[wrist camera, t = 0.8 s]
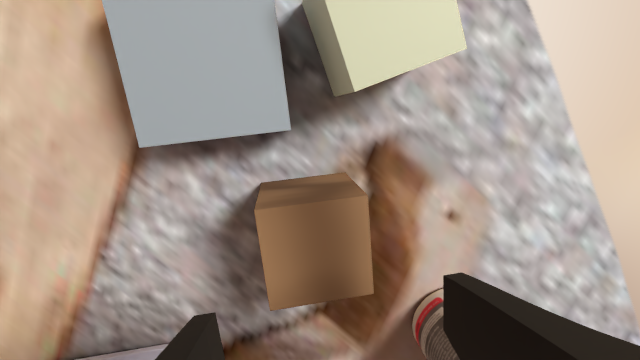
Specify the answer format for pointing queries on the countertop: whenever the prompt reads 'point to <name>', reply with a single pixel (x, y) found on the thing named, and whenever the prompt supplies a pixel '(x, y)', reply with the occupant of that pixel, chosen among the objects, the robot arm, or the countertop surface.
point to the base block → (199, 68)
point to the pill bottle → (432, 329)
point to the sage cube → (381, 38)
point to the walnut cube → (314, 240)
